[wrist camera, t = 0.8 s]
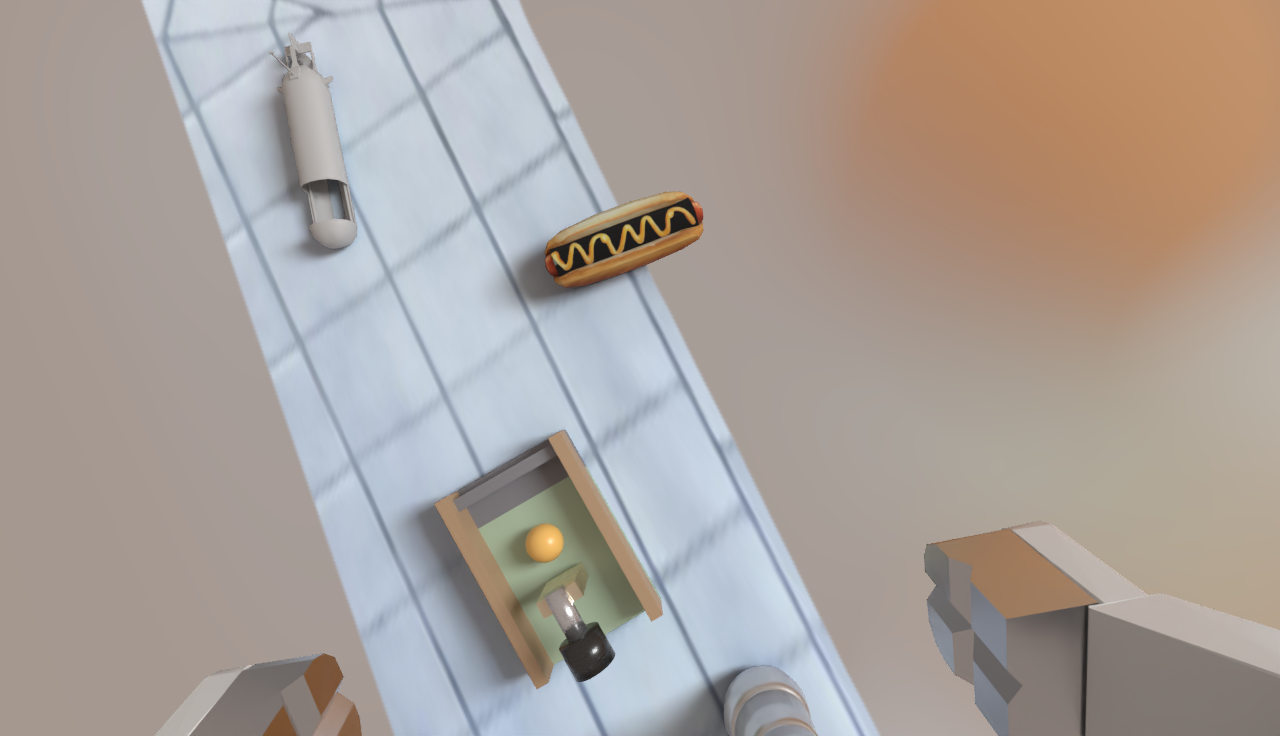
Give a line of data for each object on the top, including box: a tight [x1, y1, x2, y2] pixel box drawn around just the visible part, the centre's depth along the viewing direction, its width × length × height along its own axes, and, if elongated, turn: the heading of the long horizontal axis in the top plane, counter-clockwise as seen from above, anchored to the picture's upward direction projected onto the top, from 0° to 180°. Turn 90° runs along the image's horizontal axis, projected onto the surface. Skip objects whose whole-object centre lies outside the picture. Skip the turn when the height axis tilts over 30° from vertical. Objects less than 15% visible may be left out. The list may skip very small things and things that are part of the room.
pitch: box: [435, 430, 663, 689], centre depth 47 cm, size 16×11×4 cm
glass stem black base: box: [536, 562, 615, 682], centre depth 44 cm, size 6×3×7 cm, turn 30°
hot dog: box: [545, 192, 703, 287], centre depth 48 cm, size 5×13×5 cm, turn 111°
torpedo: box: [268, 33, 357, 249], centre depth 48 cm, size 18×5×6 cm, turn 13°
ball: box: [525, 523, 564, 563], centre depth 47 cm, size 3×3×3 cm
